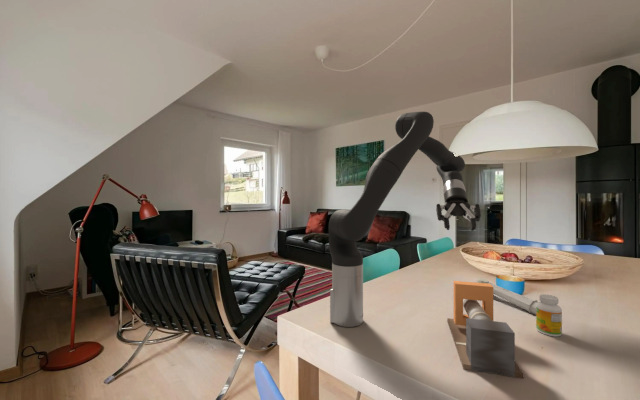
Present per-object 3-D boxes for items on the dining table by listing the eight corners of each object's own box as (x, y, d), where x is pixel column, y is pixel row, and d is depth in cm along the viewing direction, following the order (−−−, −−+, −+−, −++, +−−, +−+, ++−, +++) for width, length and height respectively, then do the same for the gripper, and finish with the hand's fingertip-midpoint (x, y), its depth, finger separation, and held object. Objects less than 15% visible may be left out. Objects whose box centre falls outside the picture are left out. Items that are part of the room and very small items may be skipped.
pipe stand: (463, 368, 60) (463, 325, 60) (447, 321, 82) (447, 290, 82) (523, 378, 56) (523, 332, 56) (489, 326, 79) (489, 294, 79)
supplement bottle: (531, 327, 79) (531, 293, 79) (550, 327, 78) (550, 293, 78) (546, 337, 73) (546, 300, 73) (567, 337, 73) (567, 300, 73)
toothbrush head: (540, 307, 84) (471, 274, 108) (537, 327, 85) (469, 291, 108) (552, 304, 86) (481, 273, 109) (548, 324, 87) (479, 289, 110)
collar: (455, 324, 75) (455, 283, 75) (453, 319, 78) (453, 280, 78) (493, 329, 72) (493, 286, 72) (490, 324, 75) (490, 283, 75)
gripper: (434, 187, 103) (438, 221, 92) (478, 186, 99) (487, 222, 88) (433, 201, 108) (436, 235, 97) (474, 201, 104) (482, 236, 93)
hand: (460, 228), depth 92 cm, fingers open, 7 cm apart
